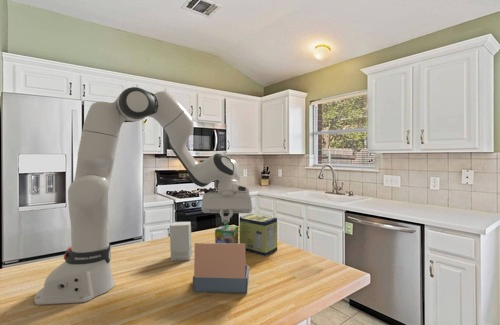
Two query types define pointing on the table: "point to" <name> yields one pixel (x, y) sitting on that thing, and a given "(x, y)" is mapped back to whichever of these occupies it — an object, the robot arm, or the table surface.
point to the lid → (219, 260)
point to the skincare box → (180, 241)
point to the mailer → (221, 284)
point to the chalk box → (226, 234)
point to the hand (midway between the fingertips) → (225, 221)
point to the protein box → (258, 234)
